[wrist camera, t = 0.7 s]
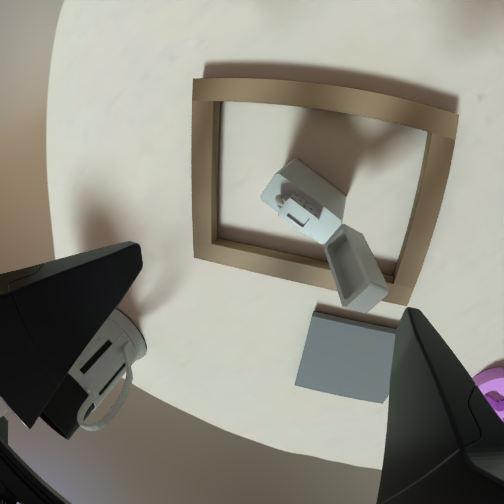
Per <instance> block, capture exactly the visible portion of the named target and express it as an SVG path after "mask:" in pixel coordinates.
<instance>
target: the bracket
mask: <svg viewBox="0 0 504 504" xmlns="http://www.w3.org/2000/svg"><path fill="white" fill-rule="evenodd" d="M472 379H473V380H474V382H475V385H477V386H478V388H479V389H480V390H481V392H482V393H483V395H484V396H485V398H486V399H487V401H488V402H489V403H490V405H491V406H492V408H493V409H494V410H495V412H496V413H497V414H498V416H499V417H500V418H501V420H502V421H503V422H504V400H502V401H499V402H496V401H495V400H493V399H492V398H490V397H489V396H487V395H486V393H488V392H490V391H497V392H498V393H500V394H501V395H502V396H504V368H503V367H496V368H491V369H488V370H485V371H483V372H481V373H479V374H478V375H476V376H475V377H474V378H472Z"/></svg>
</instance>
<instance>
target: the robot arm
mask: <svg viewBox="0 0 504 504" xmlns="http://www.w3.org/2000/svg"><path fill="white" fill-rule="evenodd" d="M142 266H143V262H142V255H141V248H140V245H139V244H138V243H135V242H131V241H128V242H123V243H119V244H115V245H111V246H107V247H103V248H99V249H95V250H91V251H88V252H84V253H80V254H76V255H72V256H68V257H65V258H61V259H57V260H53V261H50V262H46V263H45V264H44V263H42V264H39V265H36V266H32V267H28V268H24V269H20V270H16V271H11V272H7V273H3V274H0V504H16V503H17V502H19V503H20V504H71V503H70V502H69V501H68V500H66V499H65V498H64V497H63V496H61V495H60V494H59V493H58V492H57V491H55V490H54V489H53V488H52V487H51V486H49V485H48V484H47V483H46V482H45V481H44V480H43V479H42V478H41V477H39V476H38V475H37V474H36V473H35V472H34V471H33V470H32V469H31V468H30V467H29V466H28V465H27V464H26V463H25V462H24V461H23V460H22V459H21V458H20V457H19V456H18V455H17V454H16V453H15V452H14V451H13V450H12V449H11V447H10V446H9V445H8V421H7V420H6V418H5V417H4V416H3V414H4V413H5V412H6V411H7V410H8V409H10V410H11V411H12V412H13V413H14V415H15V416H16V417H17V418H18V419H19V420H21V422H22V423H23V424H24V425H26V427H28V429H30V428H32V426H33V425H34V423H35V421H36V420H37V418H38V417H39V415H40V414H41V412H42V411H43V409H44V408H45V406H46V404H47V403H48V401H49V400H50V398H51V397H52V395H53V394H54V392H55V391H56V389H57V388H58V385H60V383H61V382H62V380H63V379H64V377H65V376H66V375H67V373H68V372H69V370H70V369H71V367H72V366H73V365H74V363H75V362H76V360H77V359H78V358H79V356H80V355H81V353H82V352H83V351H84V349H85V348H86V347H87V345H88V344H89V342H90V341H91V340H92V338H93V337H94V336H95V334H96V333H97V332H98V330H99V329H100V328H101V326H102V325H103V324H104V322H105V321H106V320H107V318H108V317H109V316H110V315H111V313H112V312H113V311H114V309H115V308H116V307H117V306H118V304H119V303H120V302H121V300H122V299H123V297H124V296H125V294H126V293H127V291H128V290H129V288H130V286H131V285H132V283H133V282H134V280H135V279H136V277H137V276H138V274H139V273H140V271H141V269H142ZM376 504H504V422H503V421H502V420H501V418H500V417H499V416H498V414H497V413H496V412H495V410H494V409H493V408H492V406H491V405H490V403H489V402H488V401H487V399H486V398H485V396H484V395H483V393H482V392H481V390H480V389H479V388H478V386H477V385H475V382H474V380H473V379H472V378H471V376H470V375H469V373H468V372H467V371H466V369H465V368H464V366H463V365H462V364H461V362H460V361H459V360H458V358H457V357H456V356H455V354H454V353H453V351H452V350H451V349H450V348H449V346H448V345H447V344H446V342H445V341H444V340H443V338H442V337H441V336H440V334H439V333H438V332H437V331H436V329H435V328H434V327H433V326H432V324H431V323H430V322H429V321H428V319H427V318H426V317H425V316H424V314H423V313H422V312H421V311H420V310H419V309H416V308H411V307H407V308H406V309H405V311H404V313H403V316H402V318H401V320H400V322H399V325H398V327H397V330H396V334H395V343H394V351H393V359H392V366H391V374H390V388H389V407H388V421H387V433H386V443H385V452H384V460H383V467H382V474H381V481H380V487H379V493H378V498H377V503H376Z"/></svg>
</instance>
